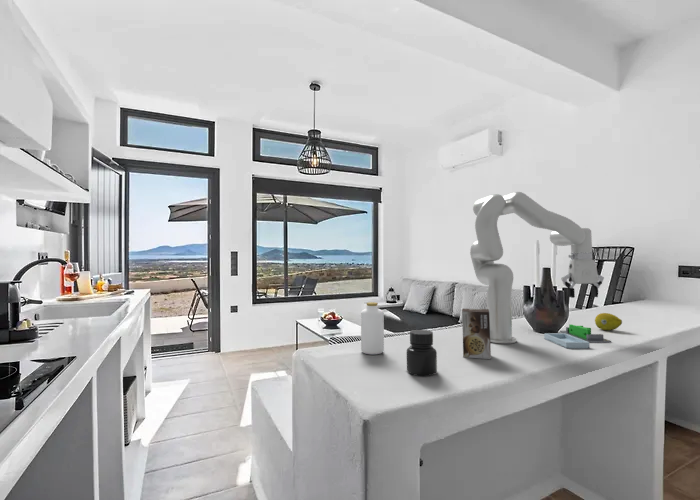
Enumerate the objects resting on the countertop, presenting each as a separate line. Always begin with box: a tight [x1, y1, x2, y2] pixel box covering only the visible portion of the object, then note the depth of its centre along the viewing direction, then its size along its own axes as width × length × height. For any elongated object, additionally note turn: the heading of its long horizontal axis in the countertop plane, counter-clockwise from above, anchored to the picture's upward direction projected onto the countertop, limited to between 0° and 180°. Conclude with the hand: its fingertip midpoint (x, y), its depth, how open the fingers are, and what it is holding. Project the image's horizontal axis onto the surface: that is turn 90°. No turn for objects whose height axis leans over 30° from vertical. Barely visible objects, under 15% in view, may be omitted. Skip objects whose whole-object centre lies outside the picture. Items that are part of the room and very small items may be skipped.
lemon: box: [594, 312, 623, 332], centre depth 163 cm, size 11×8×8 cm
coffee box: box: [461, 308, 492, 360], centre depth 123 cm, size 9×6×16 cm
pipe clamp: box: [568, 324, 592, 339], centre depth 150 cm, size 11×4×5 cm, turn 4°
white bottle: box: [360, 301, 385, 356], centre depth 129 cm, size 8×8×18 cm
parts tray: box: [543, 332, 591, 349], centre depth 139 cm, size 9×16×2 cm, turn 179°
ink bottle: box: [406, 329, 438, 377], centre depth 106 cm, size 10×9×12 cm
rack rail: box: [559, 326, 612, 344], centre depth 150 cm, size 9×20×3 cm, turn 178°
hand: (583, 297), depth 150 cm, fingers open, 9 cm apart
